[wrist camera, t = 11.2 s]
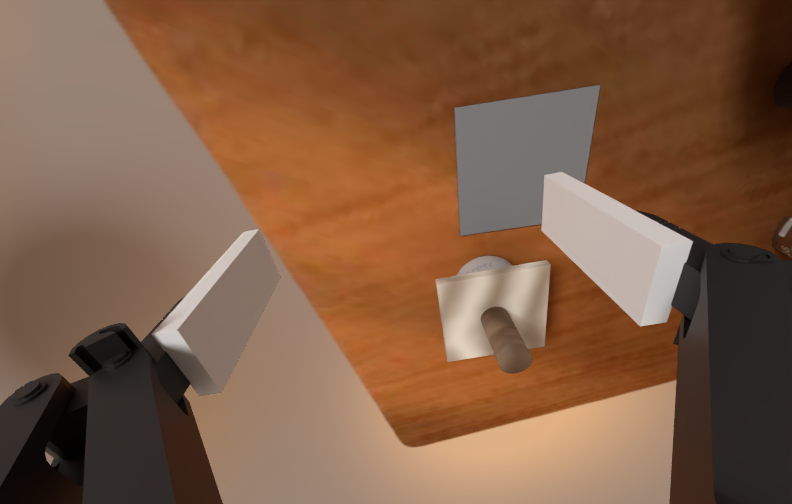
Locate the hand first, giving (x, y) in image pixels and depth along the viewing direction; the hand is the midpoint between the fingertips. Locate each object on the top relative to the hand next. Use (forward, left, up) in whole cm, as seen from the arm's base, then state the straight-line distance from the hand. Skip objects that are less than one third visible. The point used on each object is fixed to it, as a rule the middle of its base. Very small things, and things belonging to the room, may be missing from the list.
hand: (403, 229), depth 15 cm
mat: (-18, +7, -30) cm, 35 cm away
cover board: (-11, +26, -22) cm, 35 cm away
